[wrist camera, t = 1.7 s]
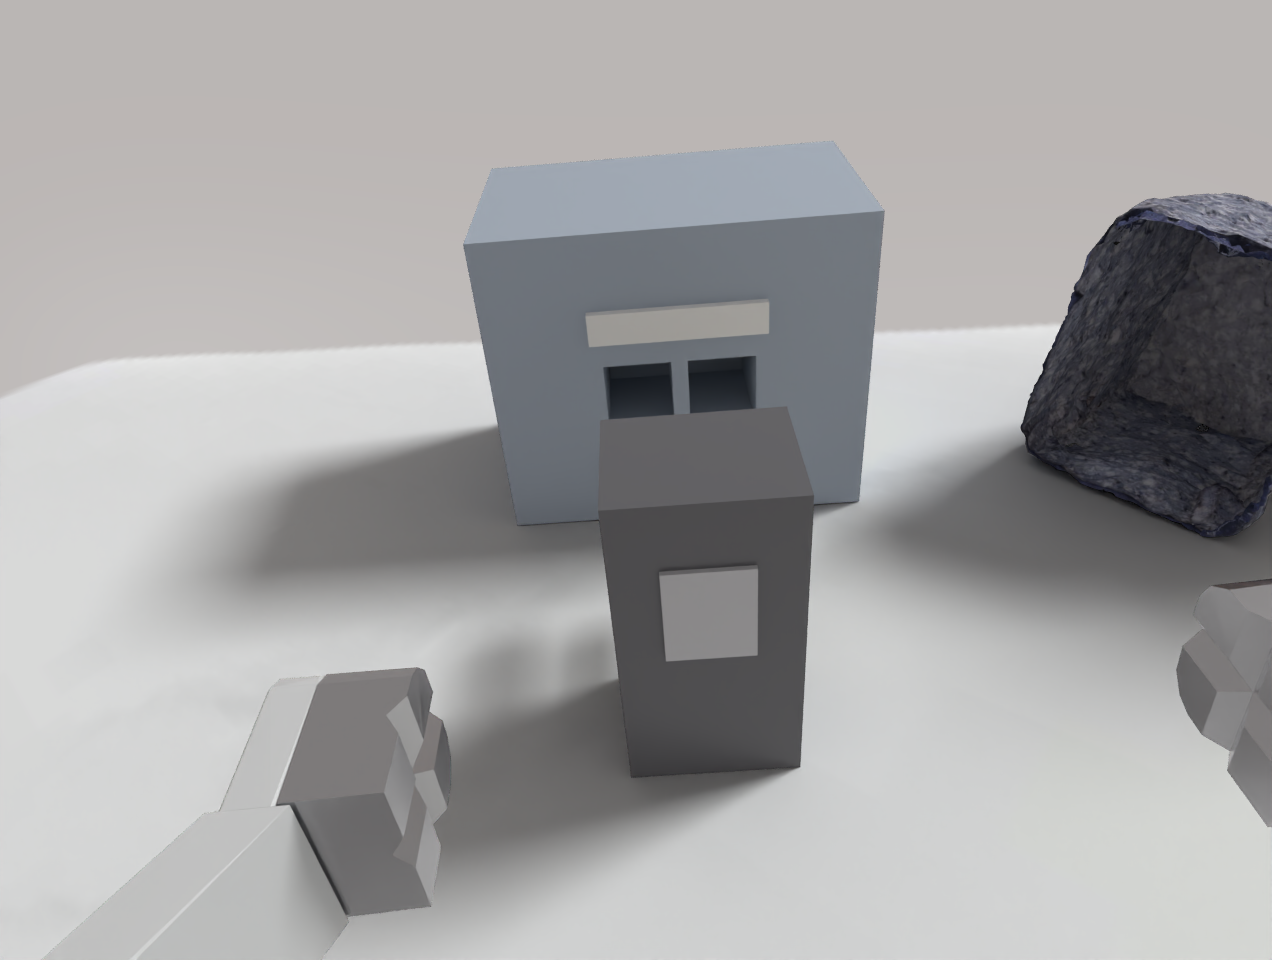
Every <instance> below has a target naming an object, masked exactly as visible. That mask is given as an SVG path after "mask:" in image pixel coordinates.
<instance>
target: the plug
mask: <svg viewBox="0 0 1272 960" xmlns="http://www.w3.org/2000/svg"><path fill="white" fill-rule="evenodd" d="M813 508H814V493H813V490H812V487H811V484H810V480H809V477H808V474H807V470H806V467H805V464H804V461H803V457H802V454H801V451H800V448H799V444H798V441H797V438H796V435H795V431H794V428H793V425H792V421H791V418H790V415H789V412H788V408H787V406H784V407H771V408H757V409H744V410H730V411H717V412H703V413H690V414H676V415H663V416H649V417H636V418H622V419H609V420H600V448H599V489H598V515H599V523H600V531H601V539H602V547H603V555H604V563H605V571H606V579H607V587H608V595H609V603H610V611H611V619H612V627H613V635H614V643H615V651H616V659H617V667H618V675H619V683H620V691H621V699H622V707H623V715H624V723H625V731H626V739H627V747H628V755H629V763H630V771H631V778H633V777H648V776H664V775H680V774H696V773H712V772H728V771H743V770H759V769H775V768H791V767H800V761H801V741H802V722H803V702H804V683H805V663H806V644H807V625H808V605H809V586H810V566H811V547H812V527H813Z"/></svg>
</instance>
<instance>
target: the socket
mask: <svg viewBox="0 0 1272 960" xmlns="http://www.w3.org/2000/svg"><path fill="white" fill-rule="evenodd" d="M883 222H884V209H883V208H882V207H881V205H880V204H879V202H878V201H877V200H876V198H875V197H874V196H873V194H872V193H871V192H870V190H869V189H868V188H867V186H866V185H865V183H864V182H863V181H862V179H861V178H860V177H859V175H858V174H857V173H856V171H855V170H854V168H853V167H852V166H851V164H850V163H849V162H848V160H847V159H846V158H845V156H844V155H843V153H842V152H841V151H840V150H839V148H838V147H837V145H836V144H835V143H834V141H824V142H813V143H800V144H788V145H776V146H764V147H751V148H739V149H727V150H714V151H703V152H690V153H678V154H666V155H653V156H642V157H630V158H617V159H604V160H593V161H580V162H569V163H556V164H543V165H531V166H520V167H508V168H495V169H492V170H491V172H490V174H489V177H488V180H487V182H486V185H485V188H484V191H483V193H482V196H481V198H480V201H479V204H478V207H477V209H476V212H475V214H474V217H473V220H472V223H471V225H470V228H469V231H468V233H467V236H466V238H465V241H464V244H463V246H464V251H465V256H466V261H467V266H468V272H469V277H470V282H471V287H472V292H473V297H474V302H475V308H476V313H477V318H478V323H479V328H480V334H481V339H482V344H483V349H484V354H485V360H486V365H487V370H488V375H489V380H490V385H491V391H492V396H493V401H494V406H495V411H496V417H497V422H498V427H499V432H500V437H501V442H502V448H503V453H504V458H505V463H506V468H507V474H508V479H509V484H510V489H511V494H512V499H513V505H514V510H515V515H516V520H517V525H531V524H545V523H559V522H573V521H587V520H599V515H598V489H599V448H600V420H609V419H622V418H636V417H649V416H663V415H676V414H690V413H703V412H717V411H730V410H744V409H757V408H771V407H784V406H787V408H788V412H789V415H790V418H791V421H792V425H793V428H794V431H795V435H796V438H797V441H798V444H799V448H800V451H801V454H802V457H803V461H804V464H805V467H806V470H807V474H808V477H809V480H810V484H811V487H812V490H813V493H814V504H826V503H841V502H855V501H859V495H860V484H861V473H862V461H863V450H864V439H865V427H866V416H867V405H868V393H869V382H870V371H871V359H872V348H873V337H874V325H875V313H876V302H877V290H878V280H879V268H880V256H881V246H882V234H883Z"/></svg>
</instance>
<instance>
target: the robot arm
mask: <svg viewBox="0 0 1272 960" xmlns="http://www.w3.org/2000/svg"><path fill="white" fill-rule="evenodd" d="M1193 615H1194V617H1195V618H1196V620H1197V621H1198V623H1199V624H1200V625H1201V627H1202V628H1203V629H1202V630H1201V631H1200V632H1198V633H1197V634H1196V635H1195V636H1194V637H1193V638H1192V639H1190V640H1189V641H1188V642H1187V643H1186V644H1185V645H1183V647H1182V651H1181V654H1180V658H1179V662H1178V665H1177V669H1176V671H1177V679H1178V686H1179V694H1180V697H1181V699H1182V702H1183V704H1184V706H1185V709H1186V711H1187V714H1188V715H1189V717H1190V718H1191V720H1192V721H1193V723H1194V724H1195V726H1196V727H1197V729H1198V730H1199V732H1200V733H1201V734H1202V735H1203V736H1205V737H1206V738H1208V739H1210V740H1212V741H1213V742H1215V743H1217V744H1218V745H1220V746H1222V747H1224V748H1225V749H1227V750H1229V751H1230V753H1229V760H1228V768H1227V771H1228V772H1229V774H1230V775H1231V777H1232V778H1233V779H1234V781H1235V782H1236V784H1237V785H1238V786H1239V788H1240V789H1241V791H1242V792H1243V793H1244V795H1245V796H1246V798H1247V799H1248V800H1249V802H1250V803H1251V804H1252V806H1253V807H1254V809H1255V810H1256V811H1257V813H1258V814H1259V816H1260V817H1261V818H1262V820H1263V821H1264V823H1265V824H1266V825H1267V827H1272V579H1266V580H1257V581H1248V582H1239V583H1230V584H1221V585H1213V586H1210V587H1208V588H1207V589H1206V590H1205V591H1204V592H1203V593H1202V594H1201V595H1200V596H1199V599H1198V602H1197V605H1196V608H1195V610H1194V613H1193ZM432 694H433V691H432V688H431V686H430V683H429V680H428V678H427V675H426V672H425V670H423V669H420V668H418V667H416V668H403V669H391V670H378V671H365V672H352V673H339V674H327V675H326V676H314V677H300V678H286V679H279V680H278V681H277V682H276V683H275V684H274V685H273V686H272V687H271V688H270V689H269V691H268V693H267V695H266V698H265V700H264V702H263V705H262V707H261V710H260V712H259V715H258V717H257V720H256V722H255V724H254V727H253V729H252V732H251V734H250V737H249V739H248V742H247V744H246V746H245V749H244V751H243V754H242V756H241V759H240V761H239V764H238V766H237V768H236V771H235V773H234V776H233V778H232V781H231V783H230V785H229V788H228V790H227V793H226V795H225V798H224V800H223V803H222V805H221V807H220V810H219V811H218V812H210V813H204V814H203V815H202V816H201V817H199V818H198V819H197V820H196V821H195V822H194V823H193V824H192V825H191V826H189V827H188V828H187V829H186V830H185V831H184V832H183V833H182V834H181V835H179V836H178V837H177V838H176V839H175V840H174V841H173V842H172V843H170V844H169V845H168V846H167V847H166V848H165V849H164V850H163V851H162V852H160V853H159V854H158V855H157V856H156V857H155V858H154V859H153V860H152V861H150V862H149V863H148V864H147V865H146V866H145V867H144V868H143V869H142V870H140V871H139V872H138V873H137V874H136V875H135V876H134V877H133V878H132V879H130V880H129V881H128V882H127V883H126V884H125V885H124V886H123V887H122V888H120V889H119V890H118V891H117V892H116V893H115V894H114V895H113V896H111V897H110V898H109V899H108V900H107V901H106V902H105V903H104V904H103V905H101V906H100V907H99V908H98V909H97V910H96V911H95V912H94V913H93V914H91V915H90V916H89V917H88V918H87V919H86V920H85V921H84V922H83V923H81V924H80V925H79V926H78V927H77V928H76V929H75V930H74V931H73V932H71V933H70V934H69V935H68V936H67V937H66V938H65V939H64V940H63V941H61V942H60V943H59V944H58V945H57V946H56V947H55V948H54V949H52V950H51V951H50V952H49V953H48V954H47V955H46V956H45V957H44V958H42V959H41V960H322V958H323V957H324V955H325V954H326V953H327V951H328V950H329V949H330V947H331V946H332V944H333V943H334V942H335V940H336V939H337V938H338V936H339V935H340V933H341V932H342V931H343V929H344V928H345V927H346V925H347V924H348V923H349V920H348V918H347V917H350V916H358V915H366V914H375V913H383V912H391V911H399V910H407V909H415V908H423V907H431V905H432V899H433V893H434V887H435V881H436V875H437V869H438V863H439V857H440V851H441V845H440V842H439V839H438V836H437V834H436V831H435V828H434V825H433V824H434V823H435V822H436V821H437V820H438V819H439V818H440V816H441V815H442V814H443V813H444V812H445V811H446V810H447V807H448V800H449V793H450V786H451V756H450V749H449V743H448V737H447V734H446V730H445V727H444V724H443V721H442V720H441V719H439V718H438V717H436V716H435V715H433V714H432V713H431V712H429V709H430V704H431V699H432Z"/></svg>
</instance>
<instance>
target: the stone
mask: <svg viewBox="0 0 1272 960" xmlns="http://www.w3.org/2000/svg"><path fill="white" fill-rule="evenodd" d="M1030 396H1031V397H1030V399H1029V401H1028V405H1027V408H1026V412H1025V416H1024V420H1023V423H1022V424H1021V431H1022V432H1023V433H1024V435H1025V437H1026V443H1025V444H1026V447H1027V450H1028V452H1029V453H1031V454H1033V455H1034V456H1035V457H1037V458H1038V459H1040V460H1042V461H1043V462H1045V463H1047V464H1050V465H1051V466H1053V467H1055V468H1056V469H1058V470H1062V471H1066V472H1068V473H1070V474H1071V475H1072V476H1073V477H1074V478H1075V479H1076V480H1077V481H1079V482H1080V483H1081V484H1083V485H1086V486H1088V487H1091V488H1095V489H1098V490H1102V489H1104V490H1105V491H1107V492H1112V493H1114V495H1115V496H1116V497H1118V498H1121V499H1124V500H1128V501H1131V502H1133V503H1136V504H1137V505H1139V506H1141V507H1142V508H1144V509H1146V510H1148V511H1150V512H1152V513H1155V514H1158V515H1160V516H1163V517H1165V518H1167V519H1169V520H1171V521H1174V522H1178V523H1179V522H1181V523H1182V525H1183V526H1184V527H1186V528H1188V529H1190V530H1194V531H1196V532H1197V533H1200V534H1201V536H1205V537H1215V536H1231V535H1235V534H1237V533H1239V532H1240V531H1242V530H1243V529H1245V528H1247V527H1249V526H1250V525H1251V524H1252V523H1253V522H1254V521H1255V520H1257V519H1259V518H1260V516H1261V515H1262V514H1264V510H1265V507H1266V503H1267V500H1268V497H1269V496H1270V495H1271V494H1272V204H1270V203H1268V202H1264V201H1258V200H1254V199H1252V198H1249V197H1247V196H1242V195H1236V194H1230V193H1223V194H1197V195H1189V196H1174V197H1170V198H1165V199H1157V198H1152V199H1147V200H1145V201H1143V202H1141V203H1139V204H1137V205H1136V206H1134V207H1133V208H1132V209H1130V210H1129V211H1128V212H1126V213H1125V214H1123V215H1121V216H1119V217H1118V218H1116V220H1115V221H1114V223H1113V224H1112V225H1111V226H1110V227H1109V229H1108V230H1107V232H1106V233H1105V235H1104V236H1103V237H1102V238H1101V239H1100V241H1099V242H1098V243H1097V244H1096V246H1095V247H1094V248H1093V249H1092V250H1091V251H1090V253H1089V254H1088V255H1087V259H1086V262H1085V266H1084V270H1083V273H1082V275H1081V278H1080V279H1079V281H1078V282H1077V283H1076V284H1075V286H1074V292H1073V293H1072V296H1071V301H1070V304H1069V306H1068V315H1067V316H1066V317H1065V320H1064V321H1063V324H1062V325H1061V327H1060V330H1059V332H1058V334H1057V336H1056V339H1055V342H1054V343H1053V345H1052V349H1051V350H1050V351H1049V353H1048V355H1047V357H1046V360H1045V362H1044V363H1043V372H1042V374H1041V375H1040V377H1039V379H1038V381H1037V383H1036V384H1035V385H1034V389H1033V392H1032V393H1031V394H1030ZM1201 424H1204V425H1207V426H1208V427H1210V428H1209V429H1208V430H1207V432H1200V431H1197V430H1195V429H1196V427H1198V426H1199V425H1201ZM1071 443H1076V444H1079V445H1081V446H1079V445H1073V446H1072V447H1068V446H1065V444H1071ZM1242 500H1244V502H1243V501H1242ZM1193 524H1194V525H1193Z"/></svg>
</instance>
